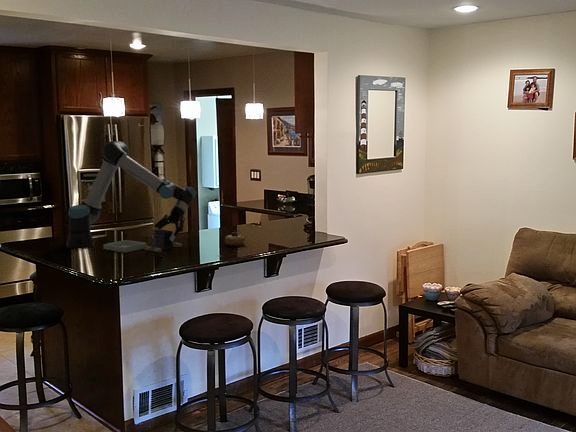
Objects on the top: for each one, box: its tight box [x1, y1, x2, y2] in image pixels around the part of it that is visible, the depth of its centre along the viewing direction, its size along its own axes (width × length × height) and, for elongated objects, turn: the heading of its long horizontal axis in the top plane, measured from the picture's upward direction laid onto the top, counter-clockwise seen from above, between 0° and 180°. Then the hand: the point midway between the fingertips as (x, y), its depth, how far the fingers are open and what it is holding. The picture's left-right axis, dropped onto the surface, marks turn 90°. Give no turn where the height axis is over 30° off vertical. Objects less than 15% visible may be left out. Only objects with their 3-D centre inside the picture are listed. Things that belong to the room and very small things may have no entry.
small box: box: [153, 228, 174, 251], centre depth 358 cm, size 11×6×10 cm, turn 47°
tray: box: [103, 239, 148, 254], centre depth 356 cm, size 17×17×3 cm
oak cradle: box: [143, 242, 183, 253], centre depth 358 cm, size 12×18×2 cm, turn 148°
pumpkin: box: [224, 229, 246, 247], centre depth 370 cm, size 12×12×9 cm
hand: (161, 239), depth 356 cm, fingers open, 13 cm apart
